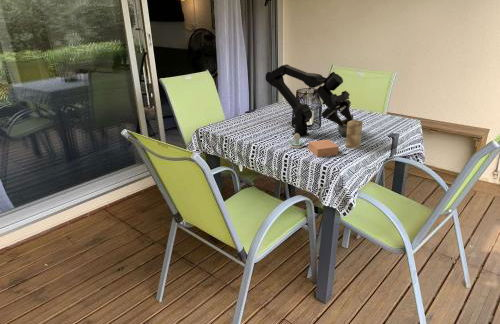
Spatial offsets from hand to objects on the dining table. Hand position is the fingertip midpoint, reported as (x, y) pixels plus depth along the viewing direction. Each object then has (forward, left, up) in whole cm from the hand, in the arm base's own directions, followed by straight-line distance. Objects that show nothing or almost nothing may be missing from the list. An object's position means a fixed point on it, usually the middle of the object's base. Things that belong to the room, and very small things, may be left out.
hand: (347, 123), depth 171 cm
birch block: (+4, +1, -11) cm, 11 cm away
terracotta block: (+1, -15, -11) cm, 19 cm away
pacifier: (-12, -20, -11) cm, 26 cm away
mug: (-10, +11, -11) cm, 19 cm away
